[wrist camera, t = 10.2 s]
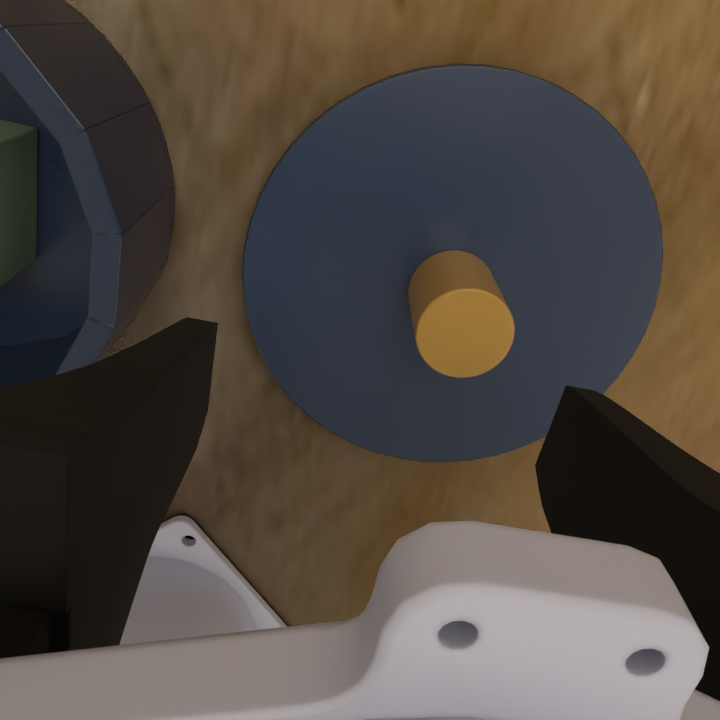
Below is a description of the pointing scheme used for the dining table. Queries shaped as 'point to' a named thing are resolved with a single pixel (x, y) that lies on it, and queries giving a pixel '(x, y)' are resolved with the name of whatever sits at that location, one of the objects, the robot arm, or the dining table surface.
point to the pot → (80, 191)
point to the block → (17, 198)
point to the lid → (451, 261)
